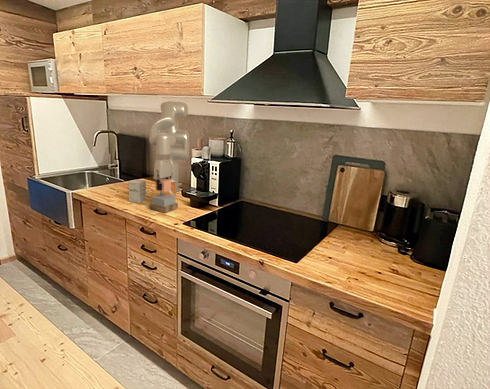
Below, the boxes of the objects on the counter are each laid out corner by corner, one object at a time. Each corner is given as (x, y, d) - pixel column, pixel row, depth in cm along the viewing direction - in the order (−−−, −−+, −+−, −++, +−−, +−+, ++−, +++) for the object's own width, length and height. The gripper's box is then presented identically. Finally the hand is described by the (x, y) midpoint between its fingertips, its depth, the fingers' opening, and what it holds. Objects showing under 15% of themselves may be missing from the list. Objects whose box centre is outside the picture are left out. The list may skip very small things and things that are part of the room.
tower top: (163, 200, 177) (163, 193, 176) (175, 203, 173) (175, 196, 172) (152, 203, 169) (152, 196, 168) (164, 206, 165) (164, 199, 164)
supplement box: (128, 201, 180) (128, 181, 177) (135, 198, 187) (135, 179, 184) (139, 203, 179) (139, 183, 176) (146, 200, 186) (146, 180, 183)
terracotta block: (162, 188, 173) (162, 178, 171) (171, 190, 171) (171, 180, 169) (155, 190, 168) (155, 180, 166) (164, 192, 165) (164, 181, 164)
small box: (163, 203, 183) (163, 182, 179) (159, 200, 188) (159, 180, 184) (175, 201, 187) (175, 181, 184) (172, 198, 192) (172, 179, 189)
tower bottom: (162, 205, 179) (162, 199, 178) (177, 209, 175) (177, 202, 174) (149, 210, 169) (149, 203, 168) (165, 214, 165) (165, 207, 164)
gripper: (167, 154, 173) (167, 185, 178) (147, 157, 158) (147, 190, 163) (178, 156, 170) (178, 187, 175) (158, 159, 155) (158, 193, 160)
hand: (163, 188), depth 169 cm, fingers closed on terracotta block, 6 cm apart
